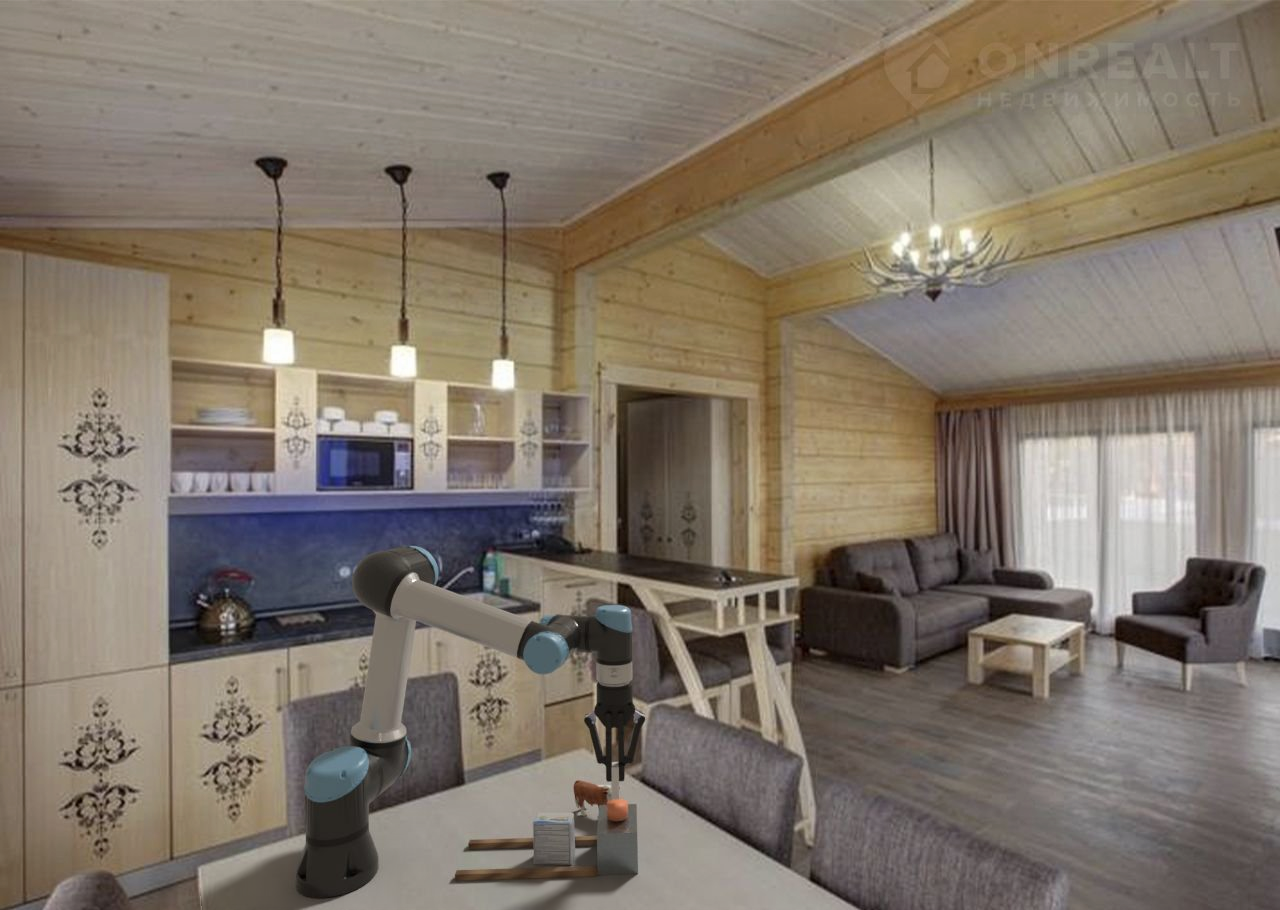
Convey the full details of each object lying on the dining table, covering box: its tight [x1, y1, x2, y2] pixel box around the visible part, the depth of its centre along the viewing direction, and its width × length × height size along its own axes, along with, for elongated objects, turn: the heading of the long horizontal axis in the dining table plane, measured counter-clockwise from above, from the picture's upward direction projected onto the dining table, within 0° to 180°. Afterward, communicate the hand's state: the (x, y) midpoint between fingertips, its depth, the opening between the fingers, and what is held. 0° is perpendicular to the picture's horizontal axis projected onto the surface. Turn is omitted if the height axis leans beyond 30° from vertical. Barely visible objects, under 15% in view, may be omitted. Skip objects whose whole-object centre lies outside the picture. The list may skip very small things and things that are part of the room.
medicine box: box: [532, 812, 576, 866], centre depth 144 cm, size 8×4×9 cm, turn 85°
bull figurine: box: [573, 779, 621, 817], centre depth 162 cm, size 4×13×8 cm, turn 53°
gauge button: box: [607, 798, 629, 821], centre depth 144 cm, size 4×4×6 cm
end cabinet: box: [596, 803, 639, 876], centre depth 144 cm, size 8×12×8 cm, turn 1°
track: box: [454, 835, 599, 882], centre depth 144 cm, size 28×13×1 cm, turn 91°
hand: (615, 796), depth 145 cm, fingers closed
